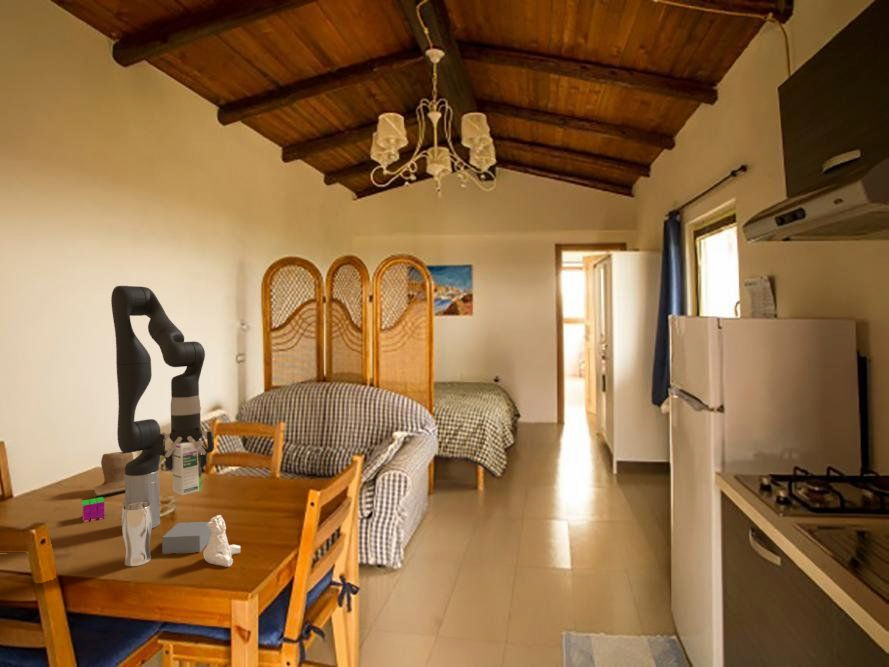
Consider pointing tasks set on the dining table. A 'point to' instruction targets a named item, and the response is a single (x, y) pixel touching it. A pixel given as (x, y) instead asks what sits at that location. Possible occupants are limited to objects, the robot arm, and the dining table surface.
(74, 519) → the dining table surface
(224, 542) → the white creature statuette
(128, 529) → the beer glass
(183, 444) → the syrup box
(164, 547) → the grey block
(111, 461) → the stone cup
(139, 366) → the robot arm
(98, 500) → the puzzle toy
